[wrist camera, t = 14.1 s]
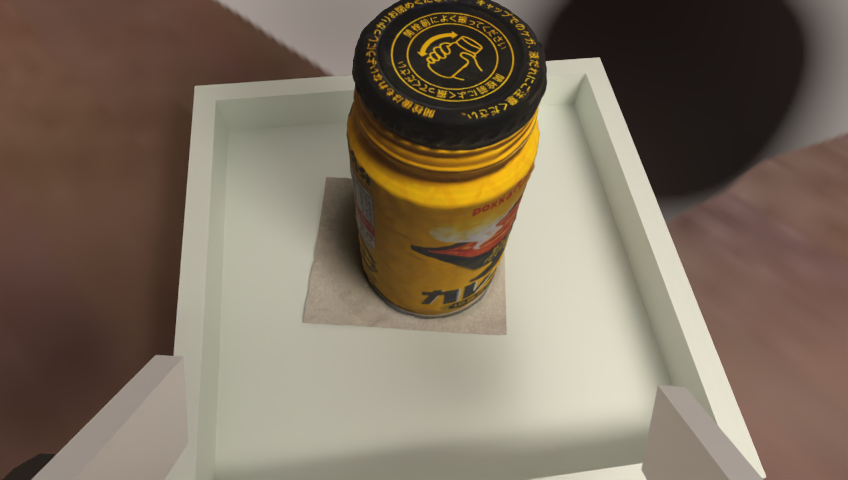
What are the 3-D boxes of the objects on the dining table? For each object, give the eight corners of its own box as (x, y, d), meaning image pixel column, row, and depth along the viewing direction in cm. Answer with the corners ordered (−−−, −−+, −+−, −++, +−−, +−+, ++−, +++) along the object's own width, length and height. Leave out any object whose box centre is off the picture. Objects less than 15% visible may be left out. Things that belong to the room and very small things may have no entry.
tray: (582, 99, 31) (599, 57, 29) (722, 486, 22) (766, 477, 19) (212, 127, 29) (194, 85, 27) (188, 568, 20) (156, 570, 17)
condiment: (505, 336, 24) (591, 163, 13) (303, 324, 24) (227, 140, 13) (502, 191, 27) (568, -35, 17) (326, 181, 27) (281, -55, 17)
